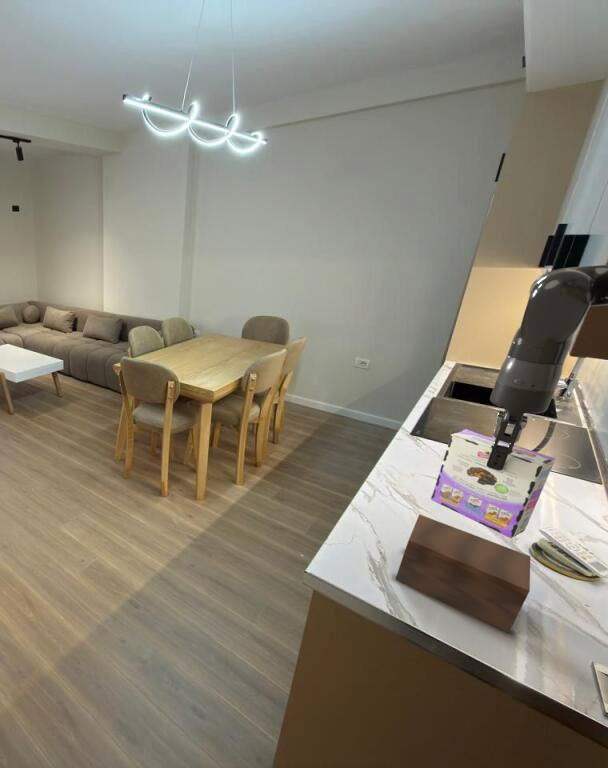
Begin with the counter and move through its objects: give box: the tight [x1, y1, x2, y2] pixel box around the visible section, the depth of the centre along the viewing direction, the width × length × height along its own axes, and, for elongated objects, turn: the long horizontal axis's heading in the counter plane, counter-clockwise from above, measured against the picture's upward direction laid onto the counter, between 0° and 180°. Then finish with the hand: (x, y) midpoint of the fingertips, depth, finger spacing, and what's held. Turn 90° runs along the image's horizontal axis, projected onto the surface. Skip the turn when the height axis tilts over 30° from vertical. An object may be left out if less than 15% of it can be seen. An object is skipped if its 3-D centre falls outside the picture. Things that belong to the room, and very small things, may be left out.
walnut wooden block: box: [395, 513, 531, 635], centre depth 84 cm, size 18×12×11 cm, turn 44°
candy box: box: [430, 428, 556, 539], centre depth 79 cm, size 14×6×16 cm, turn 24°
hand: (495, 460), depth 77 cm, fingers closed on candy box, 7 cm apart
